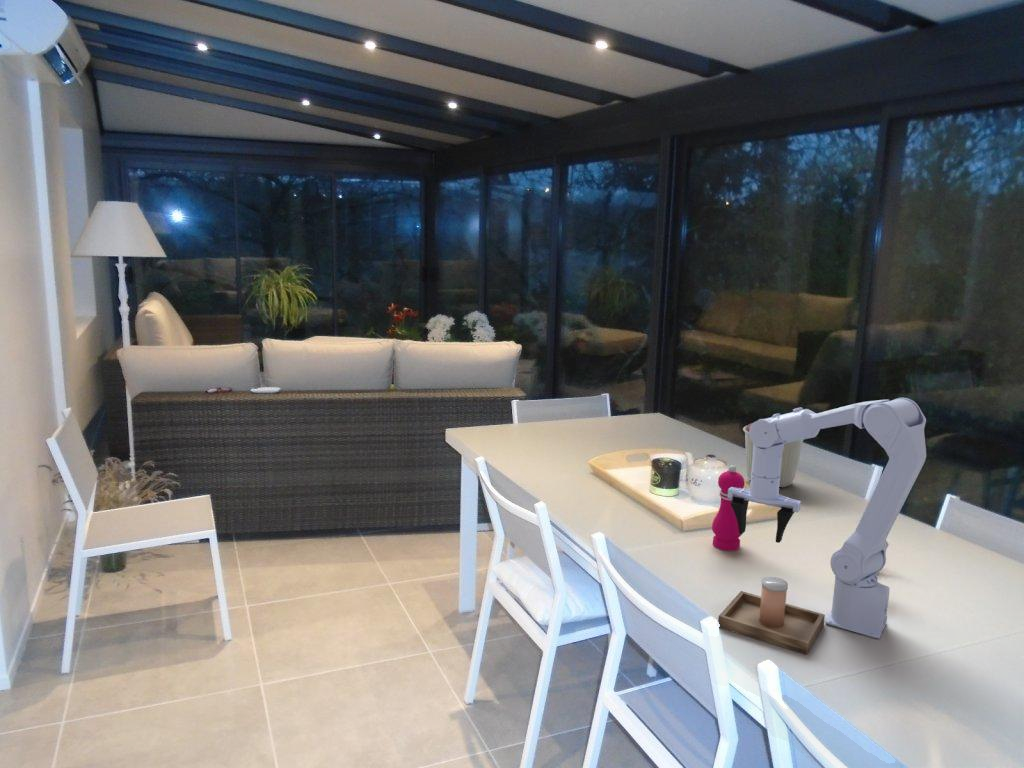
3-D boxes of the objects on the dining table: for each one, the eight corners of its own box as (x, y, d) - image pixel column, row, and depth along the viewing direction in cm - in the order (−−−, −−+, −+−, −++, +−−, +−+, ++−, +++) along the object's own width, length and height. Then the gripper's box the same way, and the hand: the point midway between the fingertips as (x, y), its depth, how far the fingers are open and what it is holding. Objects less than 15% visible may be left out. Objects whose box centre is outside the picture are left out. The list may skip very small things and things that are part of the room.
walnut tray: (823, 625, 140) (824, 614, 139) (806, 654, 129) (807, 643, 129) (740, 601, 149) (740, 590, 148) (717, 626, 138) (718, 616, 138)
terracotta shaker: (783, 617, 141) (786, 578, 139) (785, 629, 136) (788, 589, 135) (758, 614, 142) (761, 575, 140) (759, 625, 137) (762, 585, 136)
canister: (730, 484, 224) (736, 416, 220) (749, 470, 239) (754, 407, 235) (792, 496, 214) (799, 426, 210) (807, 481, 229) (814, 415, 225)
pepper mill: (747, 545, 177) (754, 465, 173) (733, 554, 172) (739, 471, 168) (719, 537, 182) (725, 459, 178) (705, 545, 177) (711, 465, 173)
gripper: (806, 476, 152) (800, 539, 154) (737, 464, 160) (732, 523, 163) (798, 485, 146) (791, 549, 149) (726, 471, 154) (721, 532, 157)
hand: (760, 536), depth 155 cm, fingers open, 7 cm apart
